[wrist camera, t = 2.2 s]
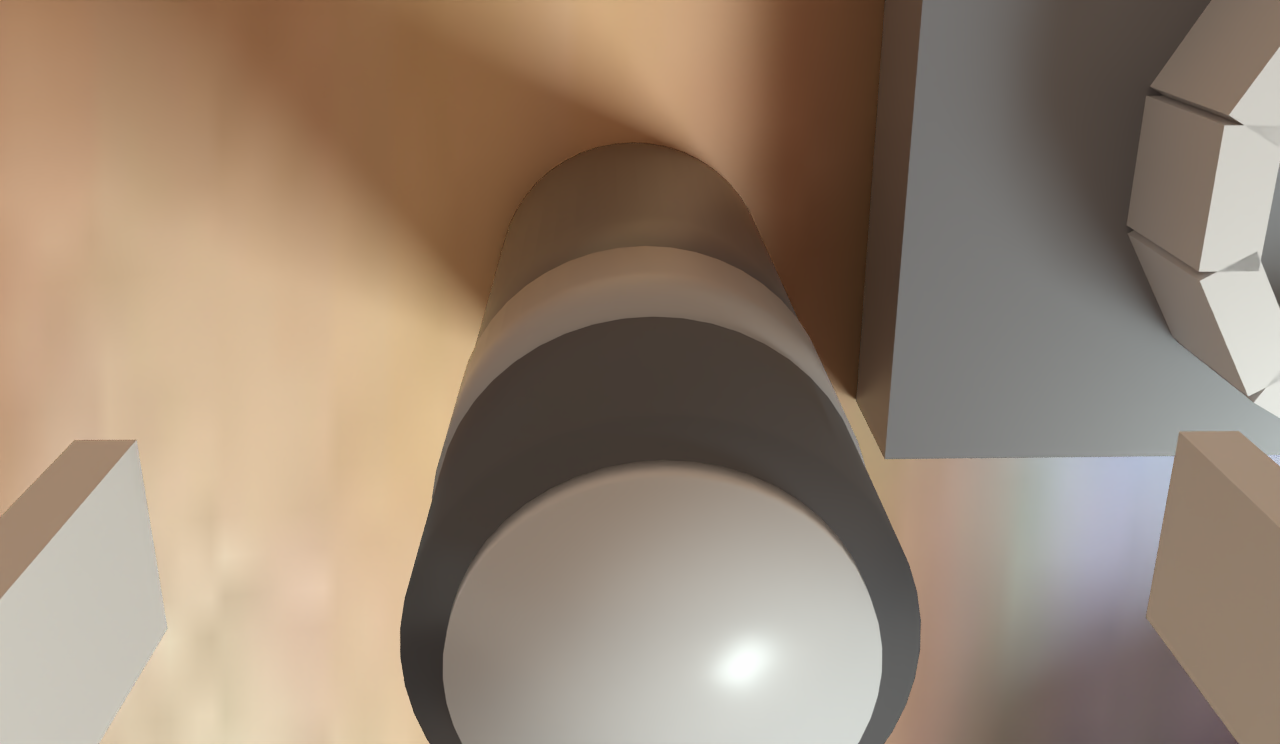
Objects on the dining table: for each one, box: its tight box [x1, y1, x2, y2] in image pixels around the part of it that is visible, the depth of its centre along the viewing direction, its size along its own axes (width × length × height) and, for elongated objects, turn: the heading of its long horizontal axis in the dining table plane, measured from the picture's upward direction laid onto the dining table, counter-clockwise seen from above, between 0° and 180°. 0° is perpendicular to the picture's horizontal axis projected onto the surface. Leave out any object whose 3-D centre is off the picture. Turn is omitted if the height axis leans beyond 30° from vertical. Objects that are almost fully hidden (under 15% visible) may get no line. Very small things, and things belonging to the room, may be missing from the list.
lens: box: [400, 143, 921, 744], centre depth 20 cm, size 6×6×14 cm
